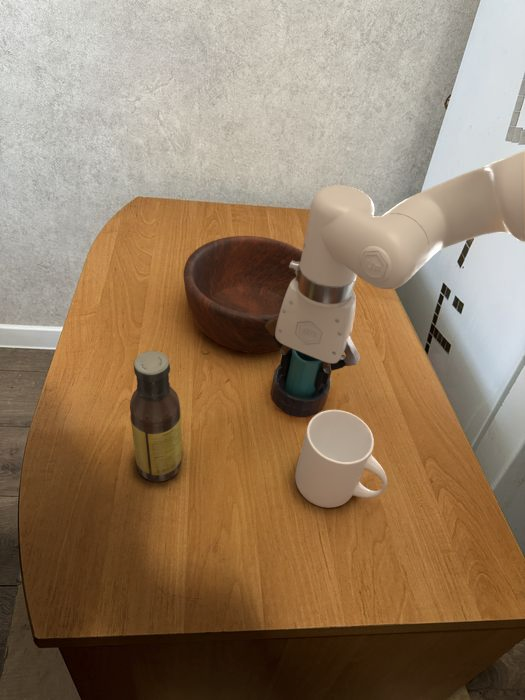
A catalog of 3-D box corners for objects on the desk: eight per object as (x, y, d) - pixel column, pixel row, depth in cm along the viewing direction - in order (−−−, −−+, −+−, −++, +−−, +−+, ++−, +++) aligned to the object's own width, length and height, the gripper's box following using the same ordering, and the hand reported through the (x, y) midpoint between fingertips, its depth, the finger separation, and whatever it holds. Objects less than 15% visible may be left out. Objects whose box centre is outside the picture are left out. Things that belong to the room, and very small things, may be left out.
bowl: (333, 391, 87) (338, 372, 84) (312, 428, 81) (317, 409, 78) (284, 370, 90) (288, 351, 87) (260, 404, 84) (263, 385, 80)
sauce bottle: (188, 453, 75) (191, 352, 62) (171, 489, 71) (170, 389, 57) (146, 440, 76) (140, 338, 63) (126, 476, 72) (115, 373, 58)
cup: (321, 385, 85) (330, 348, 79) (309, 405, 81) (318, 368, 76) (292, 373, 86) (300, 336, 81) (279, 392, 83) (287, 355, 77)
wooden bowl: (232, 385, 86) (237, 338, 79) (158, 300, 100) (157, 254, 93) (343, 335, 98) (356, 291, 91) (264, 266, 112) (270, 223, 105)
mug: (362, 535, 69) (384, 490, 62) (282, 489, 73) (295, 441, 65) (385, 487, 75) (408, 441, 68) (310, 447, 78) (324, 399, 71)
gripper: (255, 272, 69) (243, 370, 82) (378, 319, 65) (346, 415, 77) (279, 247, 75) (265, 343, 87) (395, 289, 70) (362, 383, 82)
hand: (303, 376), depth 82 cm, fingers closed on cup, 5 cm apart
